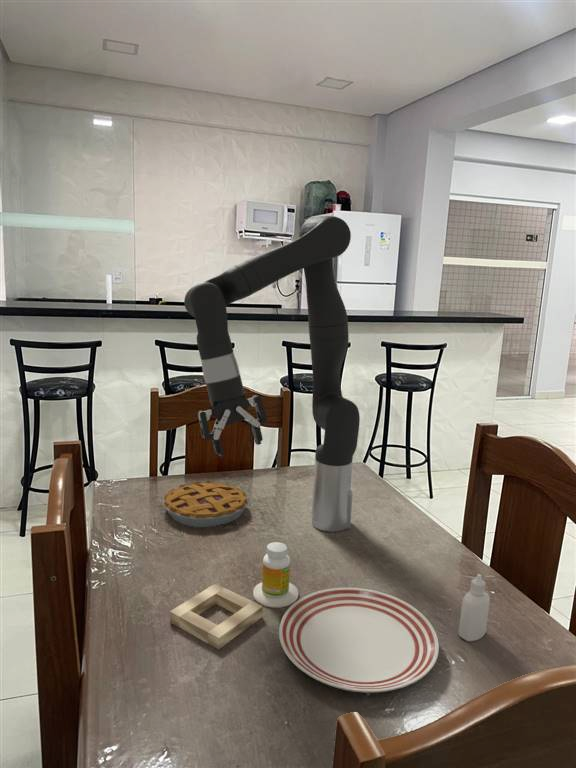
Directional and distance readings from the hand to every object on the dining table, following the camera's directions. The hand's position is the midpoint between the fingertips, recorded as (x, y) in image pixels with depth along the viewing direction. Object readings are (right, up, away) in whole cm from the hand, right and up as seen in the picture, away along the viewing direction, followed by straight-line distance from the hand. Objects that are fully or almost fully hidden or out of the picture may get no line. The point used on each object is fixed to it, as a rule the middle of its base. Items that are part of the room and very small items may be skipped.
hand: (240, 449), depth 127 cm
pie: (-11, -19, +27) cm, 35 cm away
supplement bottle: (+8, -27, -9) cm, 30 cm away
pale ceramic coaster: (+8, -28, -10) cm, 30 cm away
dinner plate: (+22, -32, -24) cm, 46 cm away
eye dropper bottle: (+44, -32, -19) cm, 58 cm away
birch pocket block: (-3, -29, -18) cm, 35 cm away
